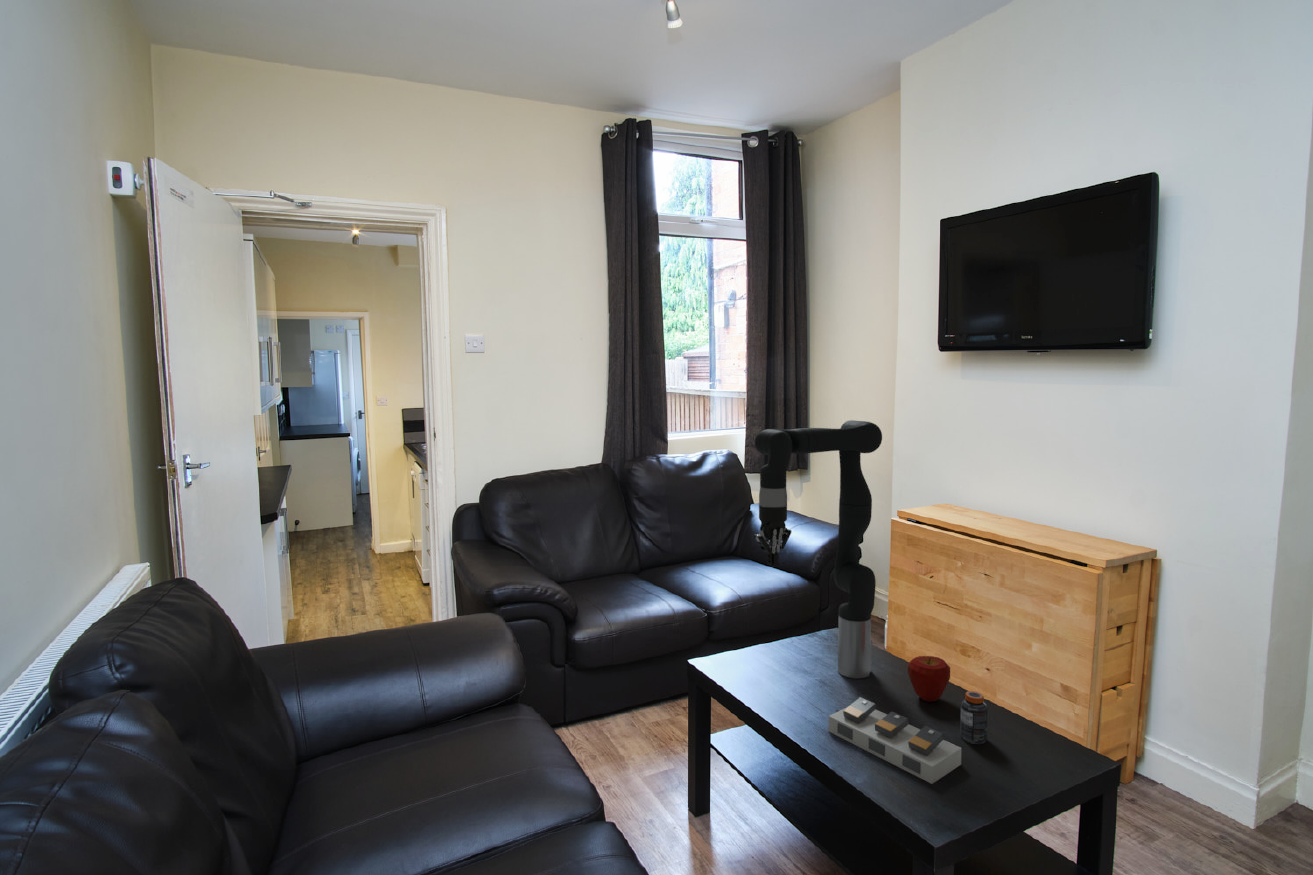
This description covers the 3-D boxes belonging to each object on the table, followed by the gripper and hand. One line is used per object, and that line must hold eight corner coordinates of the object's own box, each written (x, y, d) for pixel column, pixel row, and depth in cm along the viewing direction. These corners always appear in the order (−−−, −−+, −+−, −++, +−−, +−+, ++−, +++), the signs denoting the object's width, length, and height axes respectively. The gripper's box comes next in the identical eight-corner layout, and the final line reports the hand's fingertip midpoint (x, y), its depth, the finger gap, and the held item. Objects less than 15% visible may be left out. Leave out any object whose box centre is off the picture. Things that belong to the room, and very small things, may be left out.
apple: (927, 686, 194) (928, 645, 193) (958, 703, 185) (960, 660, 184) (898, 694, 190) (899, 653, 189) (928, 712, 180) (930, 667, 179)
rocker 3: (925, 731, 159) (925, 724, 159) (943, 739, 156) (942, 732, 156) (909, 747, 156) (908, 741, 155) (926, 756, 152) (925, 749, 152)
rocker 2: (892, 717, 167) (891, 710, 166) (908, 724, 163) (908, 717, 163) (875, 730, 163) (874, 723, 162) (891, 738, 159) (890, 731, 159)
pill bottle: (985, 734, 169) (986, 690, 168) (988, 746, 163) (990, 701, 162) (958, 730, 171) (960, 687, 170) (961, 742, 165) (962, 697, 164)
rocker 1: (860, 702, 174) (860, 696, 173) (875, 709, 170) (874, 702, 170) (843, 716, 170) (843, 710, 169) (858, 723, 166) (857, 717, 166)
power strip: (851, 713, 180) (852, 696, 179) (961, 764, 156) (961, 745, 156) (821, 728, 172) (822, 711, 172) (931, 784, 149) (932, 764, 148)
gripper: (779, 498, 192) (779, 558, 194) (745, 504, 184) (745, 567, 186) (800, 502, 186) (799, 564, 188) (766, 508, 178) (765, 573, 180)
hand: (772, 565), depth 187 cm, fingers closed
